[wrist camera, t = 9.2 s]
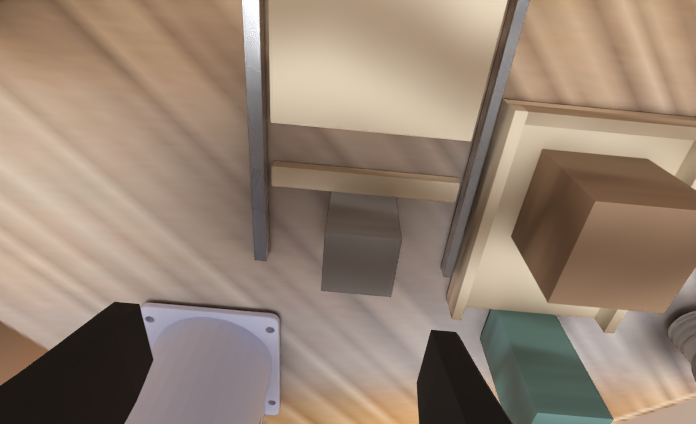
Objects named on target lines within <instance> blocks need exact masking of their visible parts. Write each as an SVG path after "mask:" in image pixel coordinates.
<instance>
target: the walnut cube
mask: <svg viewBox="0 0 696 424" xmlns="http://www.w3.org/2000/svg"><path fill="white" fill-rule="evenodd" d="M511 238H512V240H513V241H514V243H515V245H516V247H517V249H518V250H519V252H520V254H521V256H522V258H523V259H524V261H525V263H526V265H527V267H528V268H529V270H530V272H531V274H532V276H533V277H534V279H535V281H536V283H537V285H538V286H539V288H540V290H541V292H542V294H543V295H544V297H545V299H546V301H547V303H552V304H563V305H574V306H585V307H597V308H608V309H619V310H630V311H641V312H653V313H665V311H666V310H667V308H668V307H669V305H670V304H671V302H672V301H673V299H674V298H675V297H676V295H677V294H678V292H679V291H680V289H681V288H682V286H683V285H684V283H685V282H686V280H687V279H688V278H689V276H690V275H691V273H692V272H693V270H694V269H695V267H696V190H695V189H693V188H692V187H690V186H689V185H687V184H686V183H684V182H683V181H681V180H680V179H678V178H677V177H675V176H673V175H672V174H670V173H669V172H667V171H666V170H664V169H663V168H661V167H660V166H658V165H657V164H655V163H654V162H652V161H650V160H649V159H645V158H635V157H624V156H613V155H603V154H592V153H581V152H570V151H560V150H549V149H542V151H541V154H540V157H539V159H538V162H537V165H536V168H535V171H534V173H533V176H532V179H531V182H530V185H529V187H528V190H527V193H526V196H525V198H524V201H523V204H522V207H521V210H520V212H519V215H518V218H517V221H516V224H515V226H514V229H513V232H512V235H511Z"/></svg>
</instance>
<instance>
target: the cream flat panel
mask: <svg viewBox="0 0 696 424" xmlns="http://www.w3.org/2000/svg"><path fill="white" fill-rule="evenodd" d="M268 4H269V60H270V117H271V123H280V124H291V125H301V126H312V127H323V128H333V129H344V130H355V131H365V132H376V133H387V134H398V135H408V136H419V137H430V138H440V139H451V140H462V141H471V140H472V136H473V132H474V128H475V124H476V121H477V117H478V113H479V109H480V105H481V101H482V97H483V93H484V90H485V86H486V82H487V78H488V74H489V70H490V66H491V62H492V58H493V55H494V51H495V47H496V43H497V39H498V35H499V31H500V27H501V24H502V20H503V16H504V12H505V8H506V4H507V0H268ZM271 173H272V186H278V187H289V188H300V189H311V190H322V191H331V197H330V203H329V209H328V216H327V222H326V228H325V238H324V254H323V269H322V285H321V291H329V292H340V293H351V294H362V295H374V296H385V297H391V295H392V290H393V285H394V279H395V274H396V269H397V263H398V258H399V253H400V247H401V242H402V236H401V229H400V222H399V214H398V207H397V200H396V197H398V198H409V199H420V200H431V201H442V202H453V203H455V202H456V198H457V194H458V190H459V187H460V182H459V180H458V178H456V177H446V176H435V175H424V174H413V173H402V172H392V171H381V170H370V169H359V168H348V167H337V166H327V165H316V164H305V163H294V162H283V161H274V162H273V164H272V166H271Z"/></svg>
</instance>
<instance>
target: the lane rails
mask: <svg viewBox="0 0 696 424" xmlns="http://www.w3.org/2000/svg"><path fill="white" fill-rule="evenodd" d="M529 1H530V0H510V4H509V8H508V12H507V16H506V20H505V23H504V27H503V31H502V35H501V39H500V43H499V46H498V50H497V54H496V58H495V62H494V66H493V69H492V73H491V77H490V81H489V85H488V88H487V92H486V96H485V100H484V104H483V108H482V111H481V115H480V119H479V123H478V127H477V131H476V134H475V138H474V142H473V146H472V150H471V154H470V157H469V161H468V165H467V169H466V173H465V177H464V180H463V184H462V188H461V192H460V196H459V200H458V203H457V207H456V211H455V215H454V219H453V223H452V226H451V230H450V234H449V238H448V242H447V246H446V249H445V253H444V257H443V261H442V265H441V269H442V273H443V277H450V278H451V277H452V273H453V269H454V266H455V262H456V259H457V255H458V252H459V248H460V245H461V241H462V238H463V234H464V231H465V227H466V224H467V220H468V216H469V213H470V209H471V206H472V202H473V199H474V195H475V192H476V188H477V185H478V181H479V178H480V174H481V171H482V167H483V163H484V160H485V156H486V153H487V149H488V146H489V142H490V139H491V135H492V132H493V128H494V125H495V121H496V118H497V114H498V110H499V107H500V103H501V100H502V96H503V93H504V89H505V86H506V82H507V79H508V75H509V72H510V68H511V65H512V61H513V57H514V54H515V50H516V47H517V43H518V40H519V36H520V33H521V29H522V26H523V22H524V19H525V15H526V12H527V8H528V5H529ZM242 7H243V28H244V48H245V69H246V90H247V111H248V132H249V153H250V174H251V194H252V215H253V236H254V257H255V260H261V261H267V258H268V255H269V252H270V246H269V203H268V159H267V116H266V72H265V29H264V0H242Z"/></svg>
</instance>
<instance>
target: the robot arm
mask: <svg viewBox="0 0 696 424" xmlns="http://www.w3.org/2000/svg"><path fill="white" fill-rule="evenodd" d="M269 327H272V328H269ZM417 395H418V411H419V424H513V423H512V422H511V420H510V419H509V417H508V416H507V414H506V413H505V411H504V410H503V408H502V407H501V405H500V404H499V402H498V400H497V399H496V397H495V396H494V394H493V393H492V391H491V389H490V388H489V386H488V385H487V383H486V381H485V380H484V378H483V376H482V375H481V373H480V371H479V370H478V368H477V366H476V365H475V363H474V361H473V360H472V358H471V356H470V354H469V353H468V351H467V349H466V347H465V346H464V344H463V342H462V340H461V339H460V337H459V335H458V334H457V333H456V332H449V331H438V330H431V333H430V336H429V340H428V344H427V347H426V351H425V355H424V358H423V362H422V366H421V369H420V373H419V376H418V380H417ZM279 411H280V320H279V317H278V316H277V315H275V314H272V313H262V312H251V311H240V310H228V309H217V308H206V307H194V306H183V305H172V304H160V303H145V304H143V306H142V307H141V309H140V305H139V304H132V303H120V302H114V303H112V304H111V305H110V306H108V307H107V308H106V309H104V310H103V311H101V312H100V313H99V314H97V315H96V316H95V317H93V318H92V319H91V320H89V321H88V322H87V323H86V324H84V325H83V326H82V327H80V328H79V329H78V330H76V331H75V332H74V333H72V334H71V335H70V336H68V337H67V338H66V339H64V340H63V341H62V342H60V343H59V344H58V345H56V346H55V347H54V348H52V349H51V350H50V351H48V352H47V353H45V354H44V355H43V356H41V357H40V358H39V359H37V360H36V361H35V362H33V363H32V364H31V365H29V366H28V367H26V368H25V369H24V370H22V371H21V372H20V373H18V374H17V375H15V376H14V377H12V378H11V379H9V380H8V381H7V382H5V383H4V384H2V385H1V386H0V424H262V422H263V417H264V415H277V414H278V413H279Z"/></svg>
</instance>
